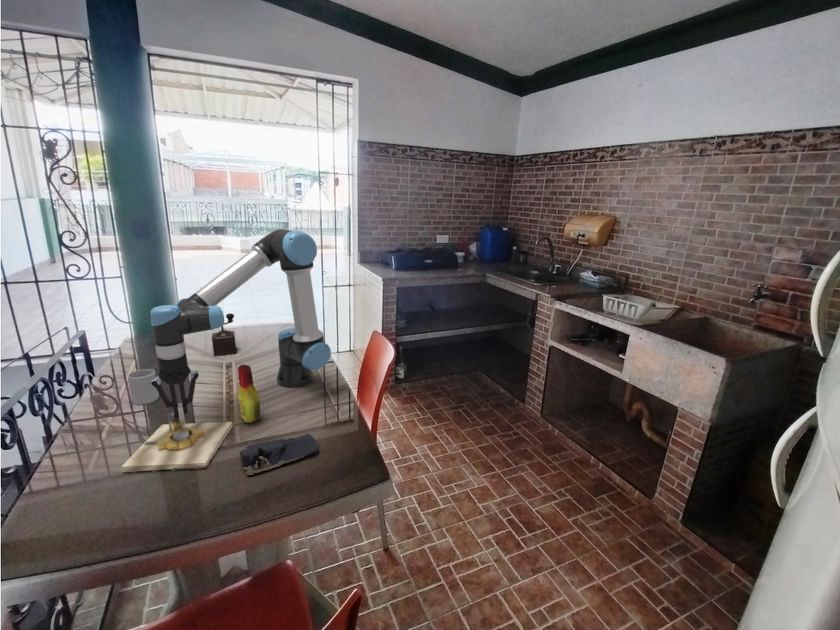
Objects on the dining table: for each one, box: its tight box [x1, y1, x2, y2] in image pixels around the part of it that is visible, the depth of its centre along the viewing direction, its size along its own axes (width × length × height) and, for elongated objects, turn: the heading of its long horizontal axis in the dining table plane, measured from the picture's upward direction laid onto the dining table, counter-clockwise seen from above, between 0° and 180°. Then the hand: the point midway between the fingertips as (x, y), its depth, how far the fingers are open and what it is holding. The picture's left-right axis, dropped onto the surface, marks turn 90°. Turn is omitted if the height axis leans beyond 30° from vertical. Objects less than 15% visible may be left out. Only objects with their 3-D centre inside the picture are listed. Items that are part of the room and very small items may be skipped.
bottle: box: [237, 364, 261, 424], centre depth 136 cm, size 12×6×20 cm, turn 34°
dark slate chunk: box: [239, 433, 319, 471], centre depth 118 cm, size 15×22×5 cm
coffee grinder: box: [211, 313, 238, 357], centre depth 199 cm, size 16×11×18 cm
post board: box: [121, 421, 234, 473], centre depth 119 cm, size 22×22×5 cm
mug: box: [127, 368, 160, 406], centre depth 149 cm, size 12×8×11 cm
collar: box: [157, 411, 205, 450], centre depth 121 cm, size 12×16×5 cm
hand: (182, 423), depth 126 cm, fingers closed
